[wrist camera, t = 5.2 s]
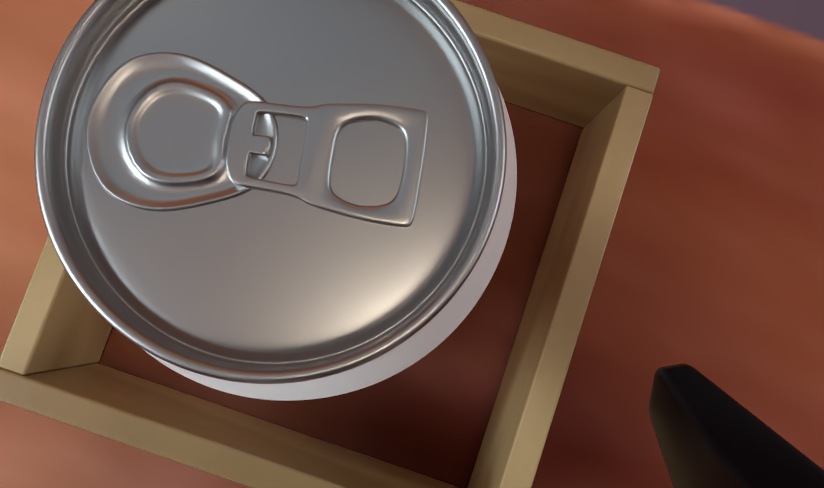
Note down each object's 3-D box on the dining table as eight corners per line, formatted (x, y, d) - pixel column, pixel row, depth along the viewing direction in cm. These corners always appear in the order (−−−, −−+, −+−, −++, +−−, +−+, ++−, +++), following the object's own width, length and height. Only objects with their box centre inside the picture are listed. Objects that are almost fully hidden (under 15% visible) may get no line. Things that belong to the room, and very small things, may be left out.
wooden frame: (482, 521, 19) (504, 576, 16) (67, 378, 20) (-17, 396, 16) (611, 114, 21) (662, 67, 17) (219, -18, 21) (177, -96, 17)
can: (255, 118, 20) (54, -151, 8) (472, 151, 20) (576, -72, 9) (216, 337, 20) (-59, 377, 8) (440, 371, 20) (504, 462, 8)
